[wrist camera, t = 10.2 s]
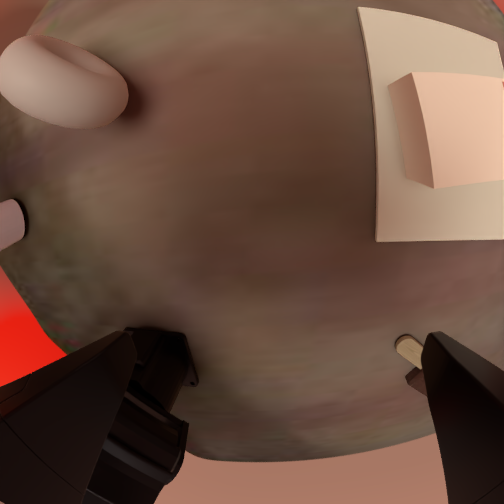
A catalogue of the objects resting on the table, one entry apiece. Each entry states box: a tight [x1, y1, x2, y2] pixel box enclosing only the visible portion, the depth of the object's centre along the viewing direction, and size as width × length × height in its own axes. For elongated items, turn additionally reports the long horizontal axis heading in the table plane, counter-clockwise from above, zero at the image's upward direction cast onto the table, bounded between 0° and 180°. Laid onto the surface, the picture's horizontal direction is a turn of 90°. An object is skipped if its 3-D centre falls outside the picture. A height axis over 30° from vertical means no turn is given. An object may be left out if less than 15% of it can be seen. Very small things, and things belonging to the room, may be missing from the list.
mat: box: [357, 7, 504, 242], centre depth 14 cm, size 16×12×1 cm
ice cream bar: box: [395, 335, 427, 396], centre depth 21 cm, size 5×2×15 cm
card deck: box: [388, 72, 504, 189], centre depth 12 cm, size 9×6×4 cm, turn 104°
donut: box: [0, 35, 129, 129], centre depth 11 cm, size 10×4×10 cm, turn 48°
